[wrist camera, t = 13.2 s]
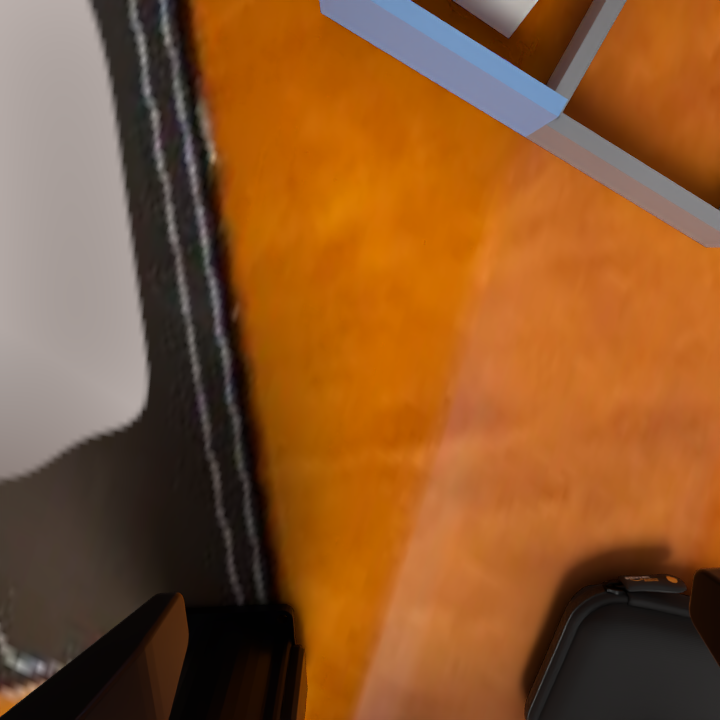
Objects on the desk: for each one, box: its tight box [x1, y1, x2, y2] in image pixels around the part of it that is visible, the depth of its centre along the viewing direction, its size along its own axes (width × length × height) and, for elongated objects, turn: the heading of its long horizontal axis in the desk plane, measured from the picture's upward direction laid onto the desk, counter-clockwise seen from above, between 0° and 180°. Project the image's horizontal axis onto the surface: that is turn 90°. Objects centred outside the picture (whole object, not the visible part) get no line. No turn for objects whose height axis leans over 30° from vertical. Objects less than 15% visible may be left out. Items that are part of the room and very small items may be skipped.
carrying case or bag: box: [525, 574, 720, 720], centre depth 24 cm, size 11×3×15 cm
